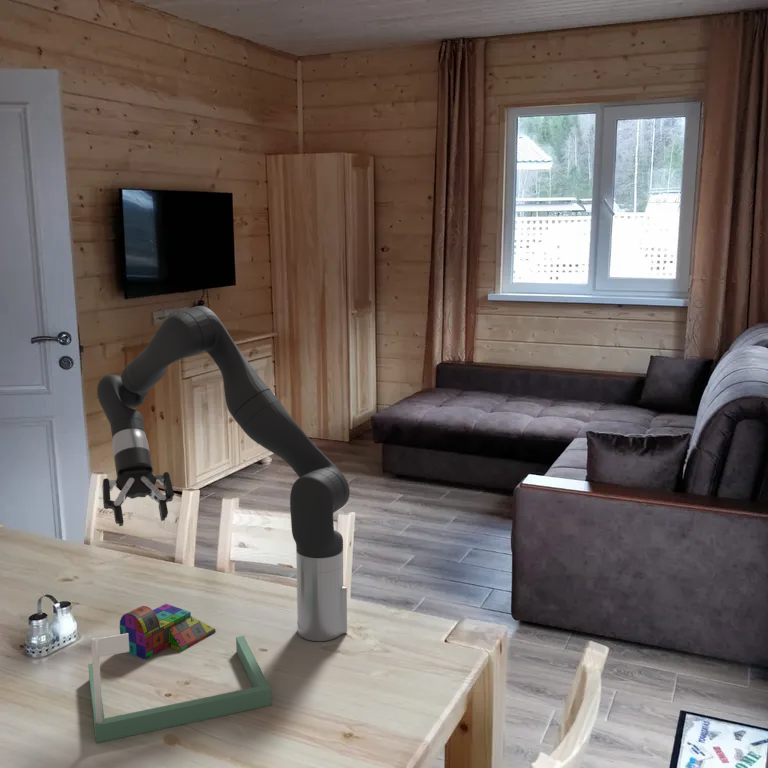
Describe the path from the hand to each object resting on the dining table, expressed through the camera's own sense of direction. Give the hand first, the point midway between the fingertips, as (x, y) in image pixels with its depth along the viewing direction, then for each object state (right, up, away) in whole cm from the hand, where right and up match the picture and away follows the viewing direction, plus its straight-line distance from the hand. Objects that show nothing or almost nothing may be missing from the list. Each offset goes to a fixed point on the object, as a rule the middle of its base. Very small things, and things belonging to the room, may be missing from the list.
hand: (142, 521), depth 171 cm
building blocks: (+8, -22, -10) cm, 26 cm away
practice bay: (+14, -25, -28) cm, 40 cm away
